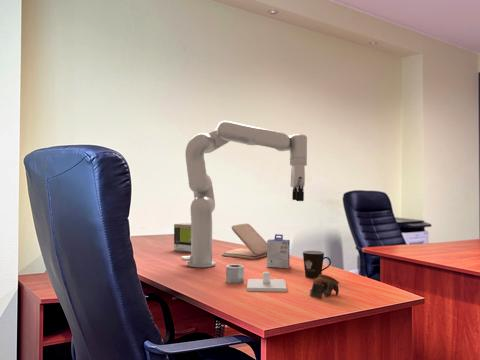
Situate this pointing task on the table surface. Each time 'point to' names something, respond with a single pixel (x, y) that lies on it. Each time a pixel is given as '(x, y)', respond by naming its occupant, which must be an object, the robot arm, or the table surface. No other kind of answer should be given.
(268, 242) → the ink cartridge box
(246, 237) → the case
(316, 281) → the brown animal figurine
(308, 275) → the coffee mug
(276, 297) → the table surface
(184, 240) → the tea box
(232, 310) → the table surface
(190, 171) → the robot arm
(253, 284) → the flange plate
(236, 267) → the collar
